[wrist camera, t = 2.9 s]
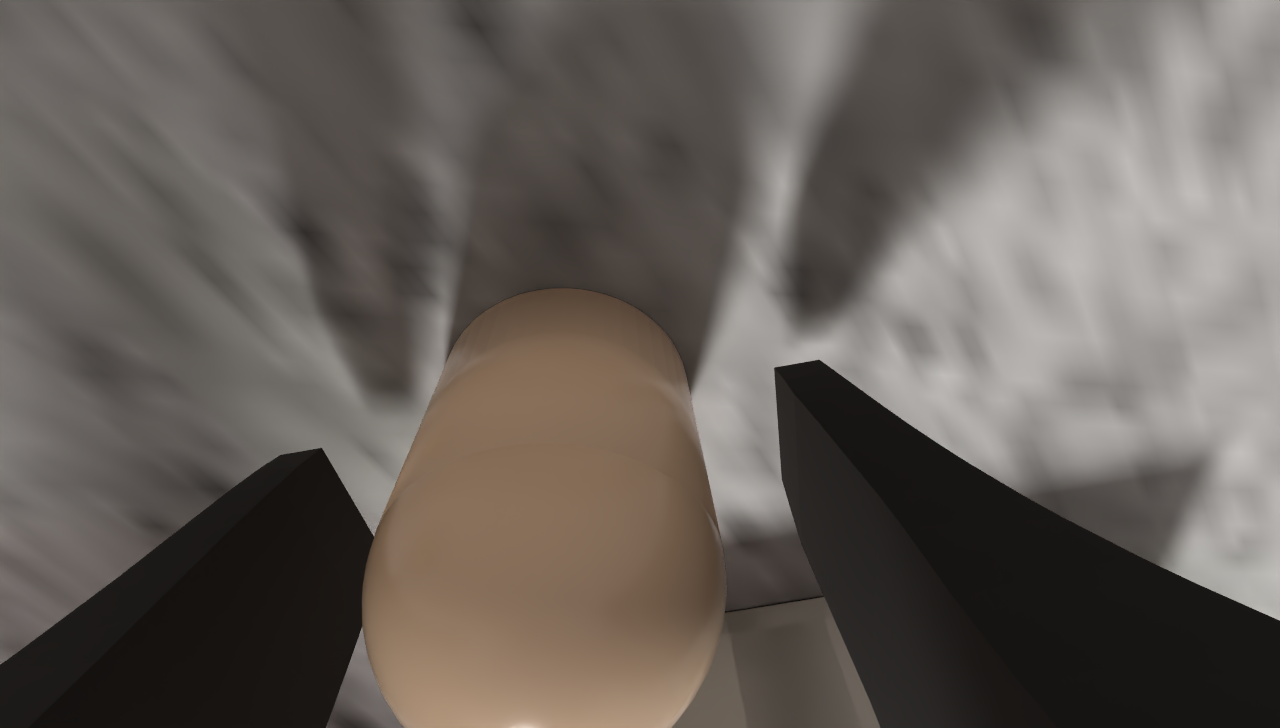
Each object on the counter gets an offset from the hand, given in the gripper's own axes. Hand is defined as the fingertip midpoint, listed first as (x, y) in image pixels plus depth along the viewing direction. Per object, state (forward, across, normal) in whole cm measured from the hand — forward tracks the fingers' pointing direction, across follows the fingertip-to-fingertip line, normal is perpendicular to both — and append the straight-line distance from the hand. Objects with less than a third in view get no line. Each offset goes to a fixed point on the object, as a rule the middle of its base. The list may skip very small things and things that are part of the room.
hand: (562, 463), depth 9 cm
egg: (+2, 0, 0) cm, 2 cm away
